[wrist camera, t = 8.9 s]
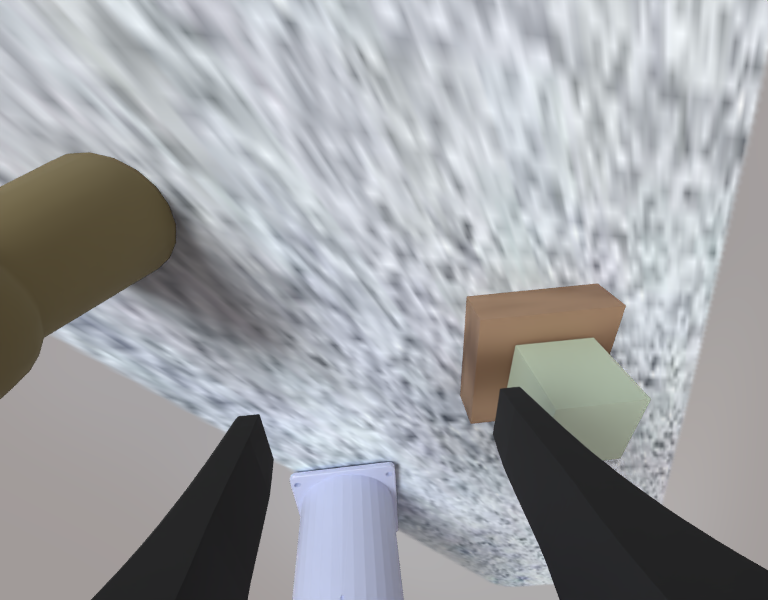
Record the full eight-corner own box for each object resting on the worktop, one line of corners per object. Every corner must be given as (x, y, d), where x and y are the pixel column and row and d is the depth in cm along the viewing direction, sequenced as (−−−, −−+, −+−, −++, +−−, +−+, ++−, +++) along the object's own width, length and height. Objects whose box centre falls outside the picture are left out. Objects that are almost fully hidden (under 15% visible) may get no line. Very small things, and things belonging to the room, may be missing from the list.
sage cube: (574, 393, 23) (620, 458, 19) (504, 401, 23) (537, 468, 19) (593, 337, 20) (650, 399, 17) (515, 345, 20) (555, 409, 16)
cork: (142, 297, 19) (-48, 495, 10) (13, 227, 17) (-398, 399, 8) (199, 213, 18) (31, 358, 8) (63, 120, 15) (-403, 173, 6)
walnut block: (567, 378, 26) (591, 410, 24) (458, 390, 26) (470, 423, 23) (593, 280, 22) (625, 305, 20) (464, 292, 22) (480, 320, 19)
